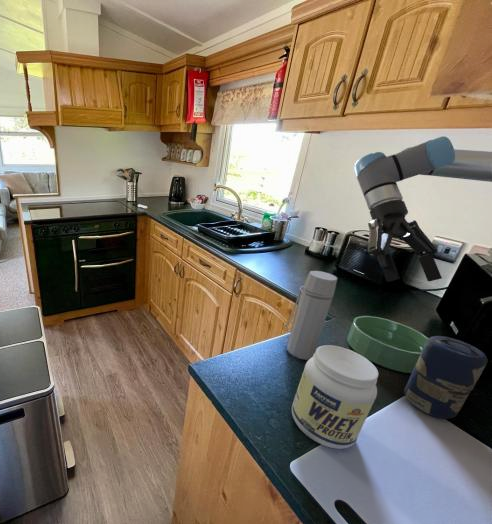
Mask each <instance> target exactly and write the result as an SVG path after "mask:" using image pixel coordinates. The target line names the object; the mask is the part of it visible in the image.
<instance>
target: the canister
mask: <svg viewBox="0 0 492 524" xmlns="http://www.w3.org/2000/svg"><path fill="white" fill-rule="evenodd" d="M428 338H429V339H428V340H427V342H426V344H425V346H424V349H423V351H422V353H421V355H420V357H419V359H418V361H417V363H416V365H415V367H414V369H413V371H412V373H410V375H409V379H408V380H407V383H406V385H405V386H404V388H403V394H404V397H405V398H406V399H407V401H408V402H409V403H410V404H412V405H413V406H414V407H416V409H418V410H420V411H422V412H424V413H426V414H427V415H431V416H433V417H435V418H439V419H446V420H449V419H453V418H455V417H457V416H458V414H459V412H460V411H461V409H462V407H463V406H464V404H465V402H466V400H467V398H468V397H469V395H470V393H471V391H473V390H474V387H475V386H476V384H477V382H478V380H479V379H480V377H481V375H482V373H483V372H484V369H486V366H487V364H488V357H487V355H486V354H485V353H484V352H483V351H482V350H480V349H478V348H477V347H475V346H473V345H471V344H469V343H467V342H466V341H465V342H464V341H462V340H460V339H456V338H452V337H448V336H444V335H443V336H441V335H434V336H431V337H428Z"/></svg>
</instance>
